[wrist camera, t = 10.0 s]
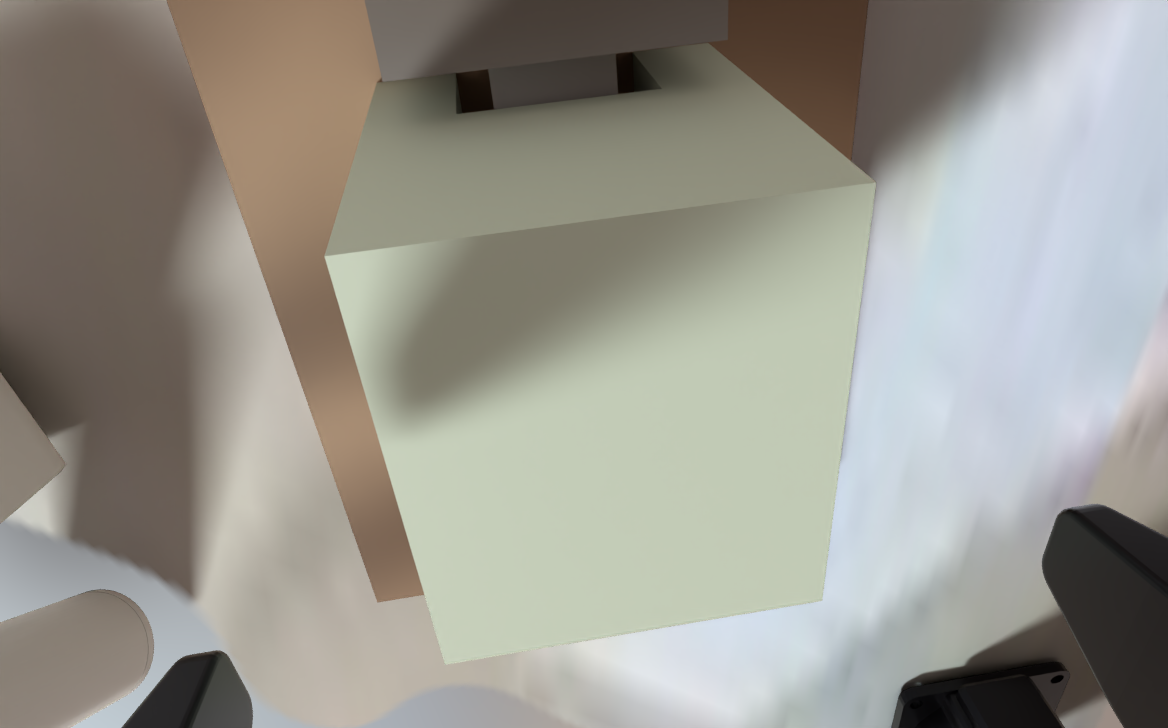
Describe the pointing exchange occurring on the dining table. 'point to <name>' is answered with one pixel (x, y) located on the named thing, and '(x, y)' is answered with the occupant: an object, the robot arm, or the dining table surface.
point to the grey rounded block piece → (60, 611)
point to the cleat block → (604, 348)
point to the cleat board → (485, 82)
